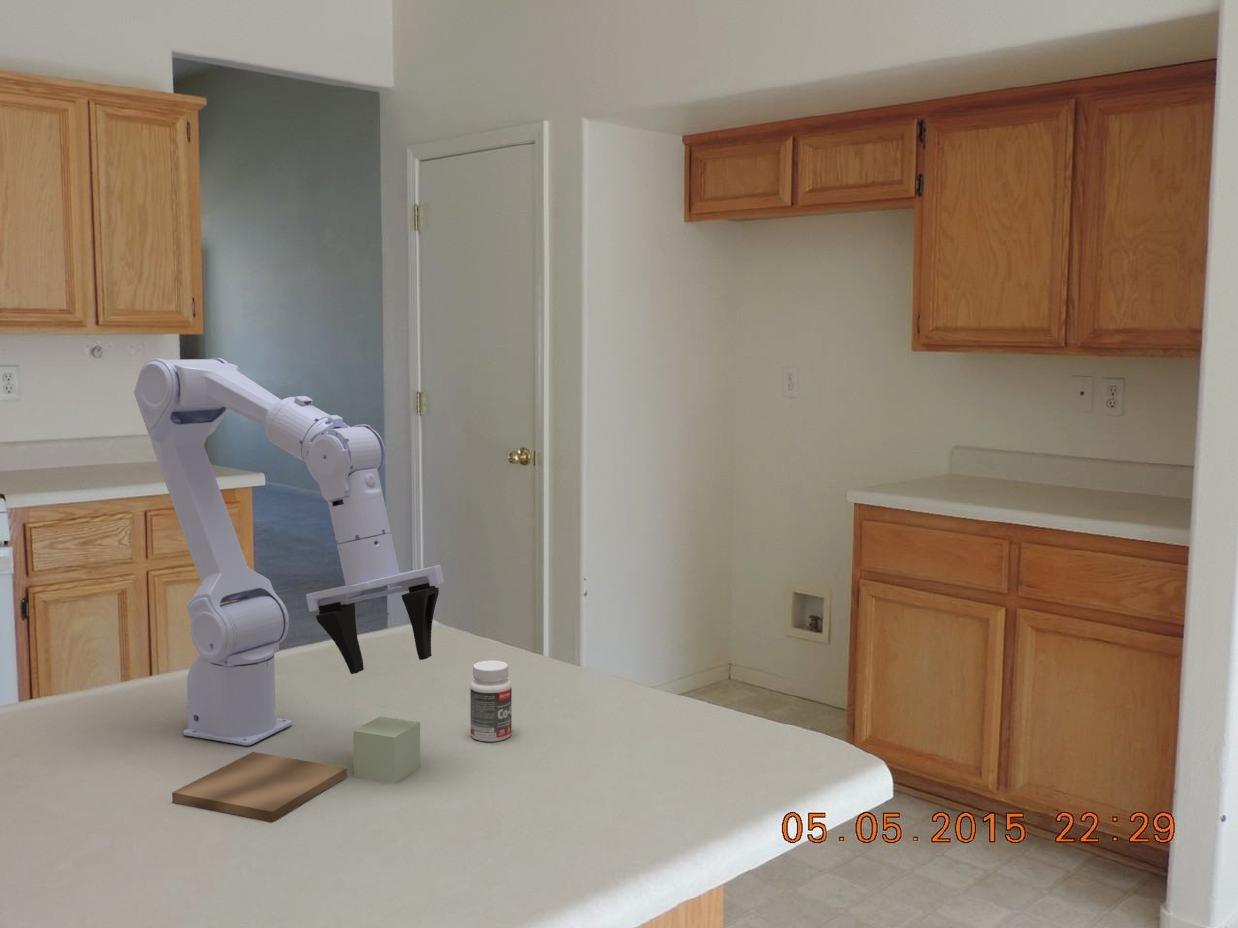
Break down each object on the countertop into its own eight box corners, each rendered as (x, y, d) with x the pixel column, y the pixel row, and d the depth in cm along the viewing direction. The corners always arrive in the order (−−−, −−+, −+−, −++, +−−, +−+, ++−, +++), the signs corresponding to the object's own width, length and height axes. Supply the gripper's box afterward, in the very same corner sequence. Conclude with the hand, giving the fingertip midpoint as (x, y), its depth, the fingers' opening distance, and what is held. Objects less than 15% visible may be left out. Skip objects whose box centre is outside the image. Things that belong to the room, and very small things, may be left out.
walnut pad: (172, 801, 111) (172, 792, 111) (253, 760, 122) (252, 751, 122) (272, 821, 107) (272, 811, 107) (346, 776, 118) (346, 767, 118)
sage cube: (353, 776, 118) (353, 730, 118) (380, 760, 123) (379, 716, 122) (395, 784, 117) (394, 737, 116) (420, 767, 121) (420, 722, 121)
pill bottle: (504, 744, 128) (504, 672, 127) (464, 740, 129) (464, 669, 128) (516, 730, 133) (516, 660, 132) (478, 727, 134) (477, 658, 133)
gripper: (284, 556, 116) (311, 685, 116) (416, 526, 114) (445, 658, 114) (312, 550, 123) (338, 672, 123) (437, 522, 121) (464, 646, 121)
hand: (391, 665), depth 119 cm, fingers open, 7 cm apart
